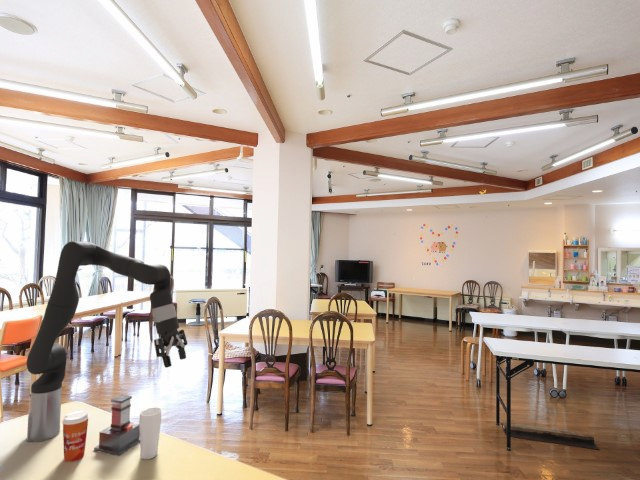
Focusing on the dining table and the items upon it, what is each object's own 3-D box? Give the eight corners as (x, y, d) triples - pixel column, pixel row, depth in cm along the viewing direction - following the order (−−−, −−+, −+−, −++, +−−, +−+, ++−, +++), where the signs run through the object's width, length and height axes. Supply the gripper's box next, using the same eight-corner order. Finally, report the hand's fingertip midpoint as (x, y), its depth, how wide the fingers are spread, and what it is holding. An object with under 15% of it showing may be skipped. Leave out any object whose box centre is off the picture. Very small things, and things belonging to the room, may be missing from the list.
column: (119, 448, 123) (121, 401, 123) (109, 446, 124) (111, 399, 124) (129, 441, 127) (131, 396, 128) (119, 439, 128) (121, 394, 129)
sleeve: (119, 456, 119) (119, 434, 119) (94, 450, 122) (94, 429, 122) (143, 439, 129) (144, 420, 129) (120, 434, 132) (120, 415, 132)
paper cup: (57, 466, 112) (60, 422, 113) (62, 454, 119) (64, 412, 120) (86, 460, 116) (88, 417, 117) (89, 448, 123) (91, 408, 123)
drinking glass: (151, 462, 115) (152, 416, 116) (133, 460, 117) (135, 414, 117) (164, 451, 122) (165, 408, 122) (147, 449, 123) (148, 406, 124)
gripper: (169, 317, 133) (179, 358, 132) (142, 325, 119) (153, 372, 118) (186, 312, 132) (196, 354, 130) (161, 320, 118) (172, 367, 116)
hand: (176, 362), depth 124 cm, fingers open, 8 cm apart
